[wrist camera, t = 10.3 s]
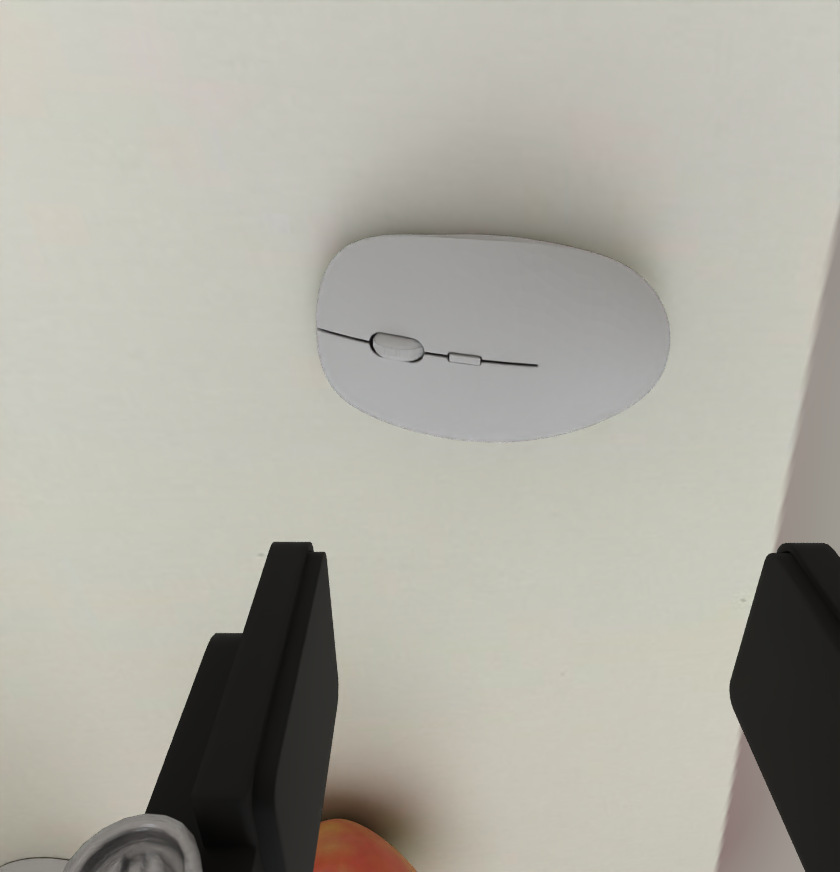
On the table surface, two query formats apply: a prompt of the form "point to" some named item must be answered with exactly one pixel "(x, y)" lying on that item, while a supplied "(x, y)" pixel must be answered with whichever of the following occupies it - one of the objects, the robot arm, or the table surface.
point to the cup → (35, 865)
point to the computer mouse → (487, 335)
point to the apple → (355, 850)
